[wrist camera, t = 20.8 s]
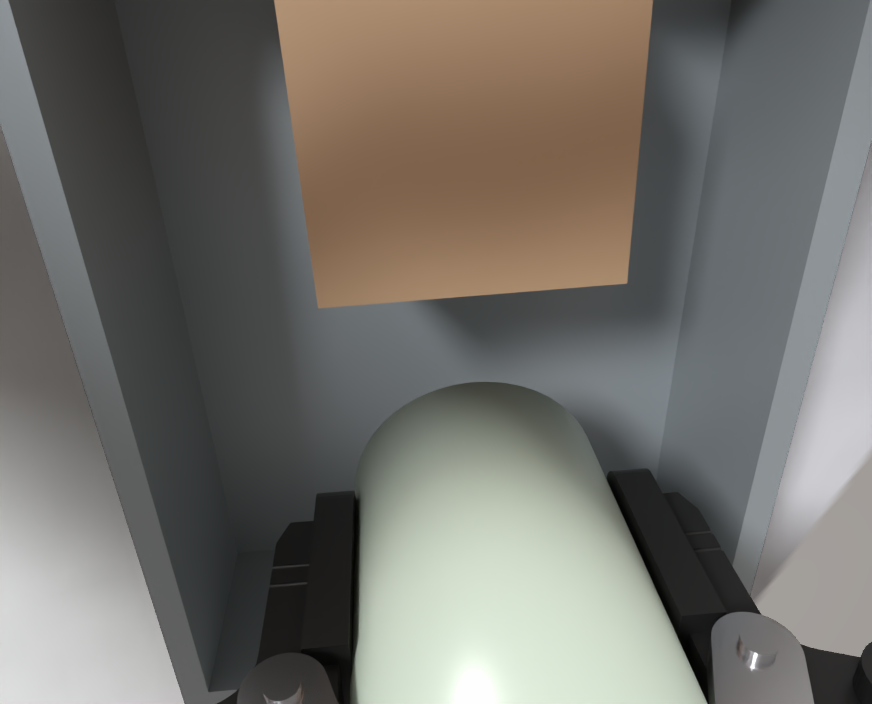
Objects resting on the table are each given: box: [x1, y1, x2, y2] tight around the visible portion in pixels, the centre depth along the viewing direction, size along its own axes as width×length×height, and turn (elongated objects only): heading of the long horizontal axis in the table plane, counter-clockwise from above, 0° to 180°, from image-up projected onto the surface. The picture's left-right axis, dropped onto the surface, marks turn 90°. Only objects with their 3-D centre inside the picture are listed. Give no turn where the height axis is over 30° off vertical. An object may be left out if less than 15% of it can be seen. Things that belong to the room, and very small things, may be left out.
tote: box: [0, 0, 872, 704], centre depth 15 cm, size 13×17×5 cm
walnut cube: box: [274, 0, 653, 308], centre depth 12 cm, size 5×5×5 cm
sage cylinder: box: [350, 382, 708, 704], centre depth 12 cm, size 5×5×7 cm
